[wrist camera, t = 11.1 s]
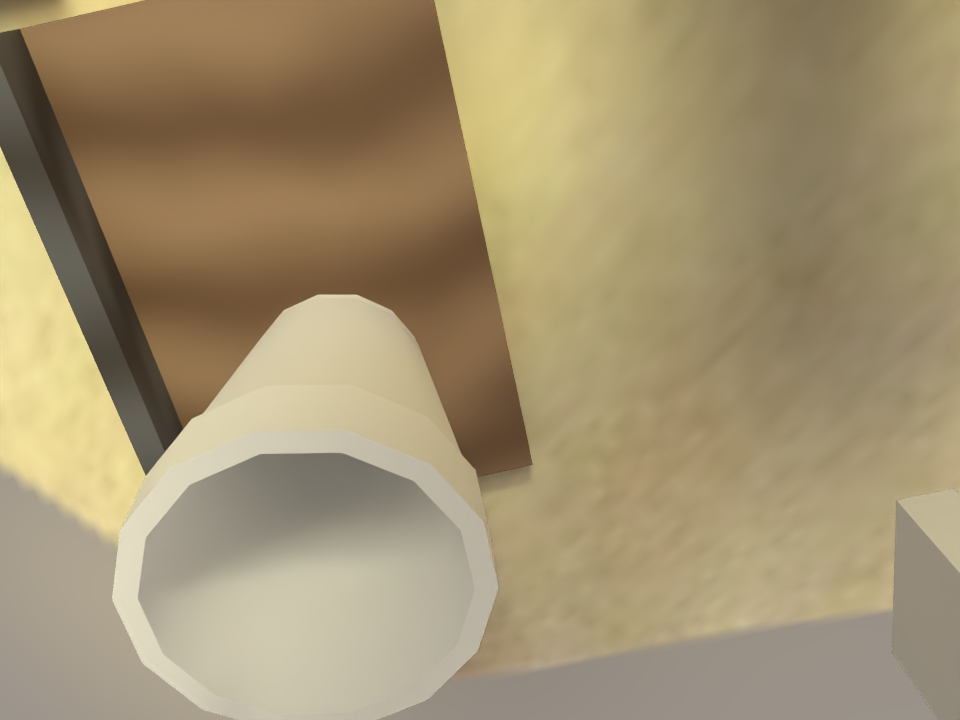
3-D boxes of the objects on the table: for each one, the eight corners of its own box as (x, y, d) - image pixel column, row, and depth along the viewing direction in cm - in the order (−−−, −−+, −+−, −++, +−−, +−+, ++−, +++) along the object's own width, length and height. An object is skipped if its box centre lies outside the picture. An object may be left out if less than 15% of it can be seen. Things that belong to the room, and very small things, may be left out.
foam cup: (481, 449, 36) (523, 693, 24) (258, 496, 36) (190, 763, 24) (432, 227, 31) (452, 388, 20) (181, 280, 31) (51, 473, 20)
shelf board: (3, 33, 29) (-51, 43, 25) (419, -62, 29) (422, -65, 25) (206, 518, 38) (186, 576, 34) (527, 446, 37) (541, 497, 34)
